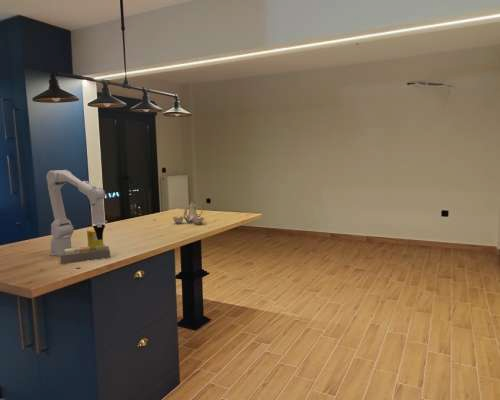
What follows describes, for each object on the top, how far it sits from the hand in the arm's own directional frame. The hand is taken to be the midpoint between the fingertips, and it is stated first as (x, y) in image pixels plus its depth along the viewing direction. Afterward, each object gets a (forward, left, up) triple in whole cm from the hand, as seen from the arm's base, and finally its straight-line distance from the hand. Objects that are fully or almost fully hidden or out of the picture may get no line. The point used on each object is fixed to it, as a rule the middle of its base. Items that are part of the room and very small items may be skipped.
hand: (99, 239), depth 191 cm
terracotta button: (-6, -4, -6) cm, 9 cm away
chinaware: (+12, +100, -9) cm, 101 cm away
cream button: (-12, -8, -6) cm, 15 cm away
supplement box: (-12, +14, -9) cm, 20 cm away
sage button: (0, 0, -6) cm, 6 cm away
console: (-6, -4, -9) cm, 11 cm away
